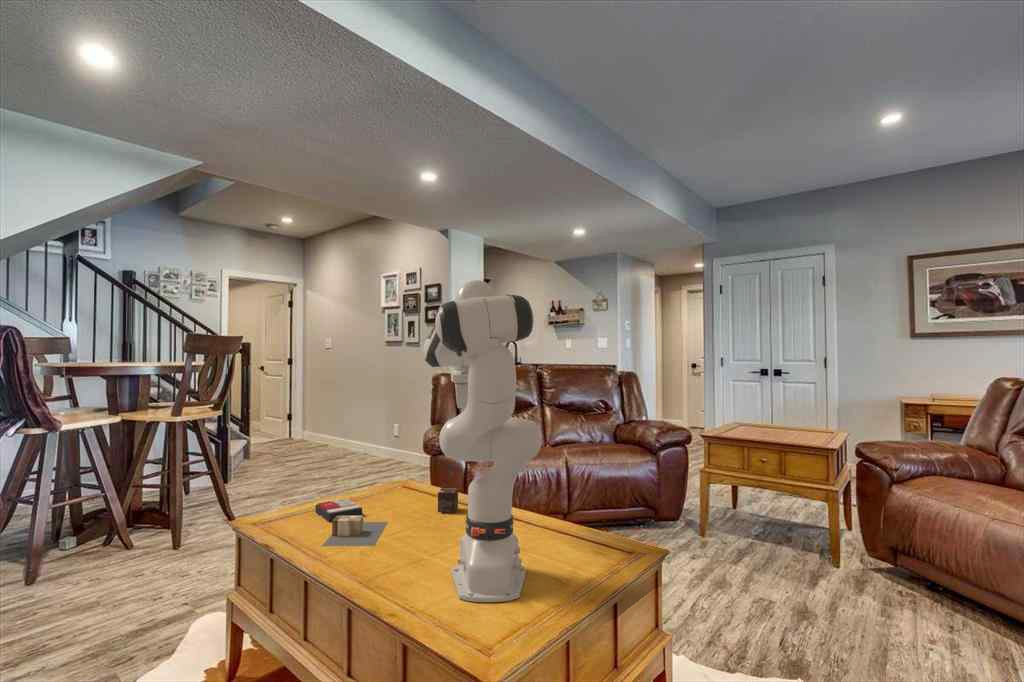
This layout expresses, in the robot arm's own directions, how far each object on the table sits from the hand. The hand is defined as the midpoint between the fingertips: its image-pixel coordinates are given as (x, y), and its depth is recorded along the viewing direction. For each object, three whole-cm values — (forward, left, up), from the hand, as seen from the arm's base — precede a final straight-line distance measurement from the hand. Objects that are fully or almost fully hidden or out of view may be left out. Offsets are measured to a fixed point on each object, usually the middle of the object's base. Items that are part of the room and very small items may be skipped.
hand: (464, 419), depth 160 cm
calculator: (+14, +42, -35) cm, 57 cm away
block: (-5, +30, -31) cm, 44 cm away
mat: (-5, +31, -34) cm, 47 cm away
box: (+18, +6, -34) cm, 39 cm away
